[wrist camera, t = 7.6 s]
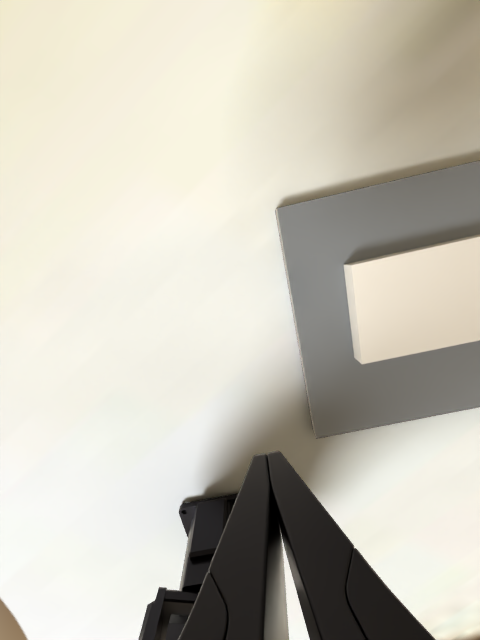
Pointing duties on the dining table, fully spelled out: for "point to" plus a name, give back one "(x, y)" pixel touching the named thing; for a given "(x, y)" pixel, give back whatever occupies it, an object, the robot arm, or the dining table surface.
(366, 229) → the slate board
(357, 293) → the tile
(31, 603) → the dining table surface
